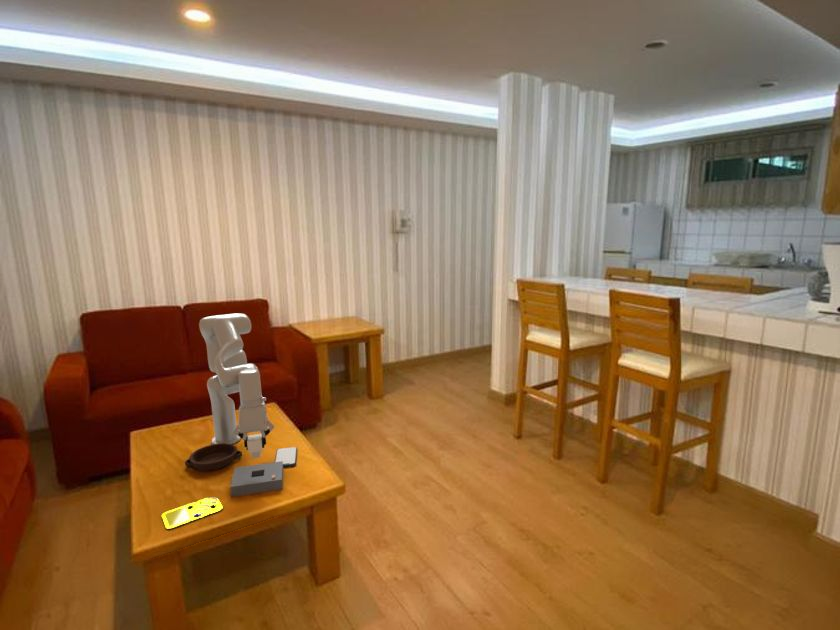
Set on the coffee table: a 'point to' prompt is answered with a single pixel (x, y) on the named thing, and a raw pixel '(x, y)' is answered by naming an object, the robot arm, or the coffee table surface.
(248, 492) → the socket
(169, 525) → the game console
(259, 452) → the plug
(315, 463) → the coffee table surface
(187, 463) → the dish
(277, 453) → the smartphone
